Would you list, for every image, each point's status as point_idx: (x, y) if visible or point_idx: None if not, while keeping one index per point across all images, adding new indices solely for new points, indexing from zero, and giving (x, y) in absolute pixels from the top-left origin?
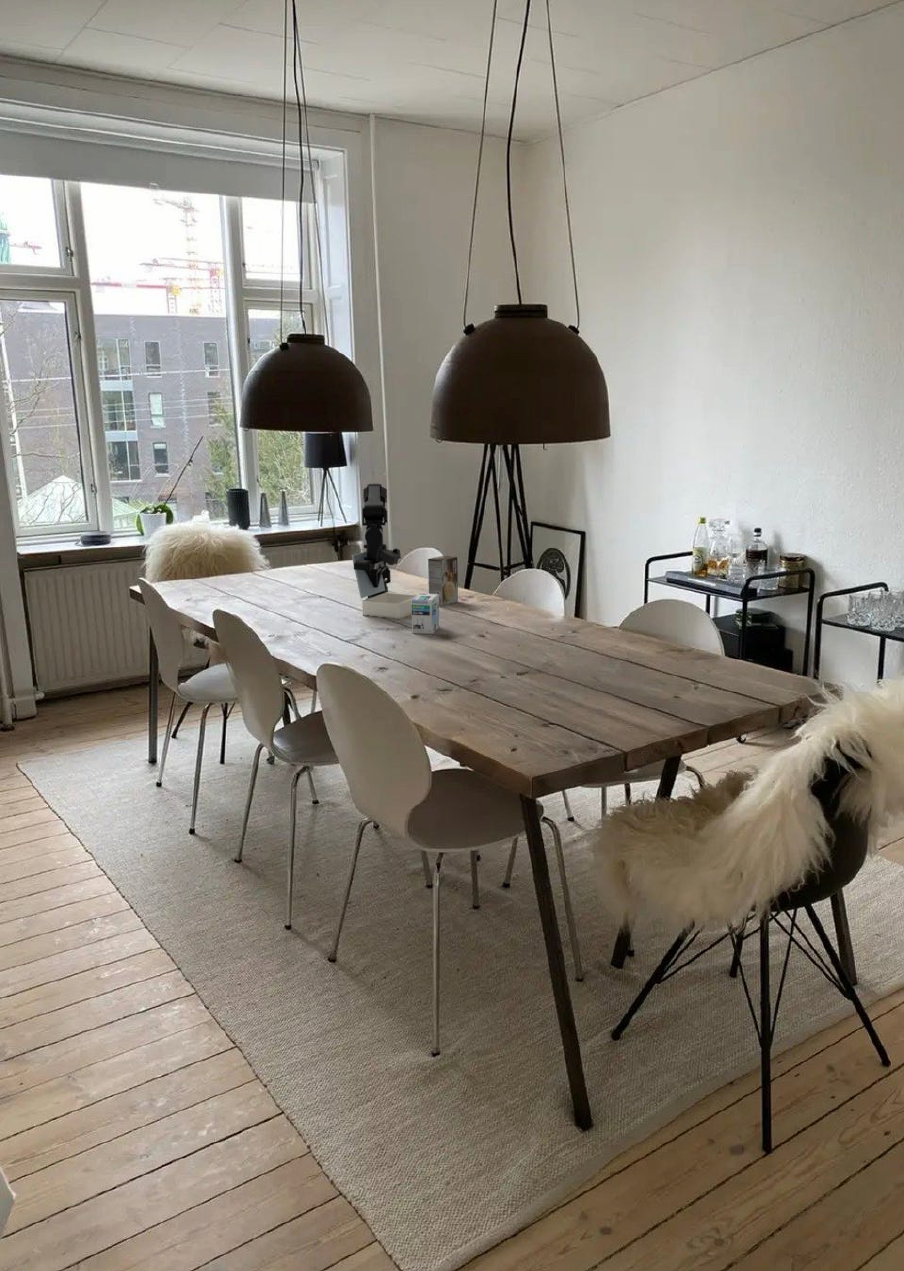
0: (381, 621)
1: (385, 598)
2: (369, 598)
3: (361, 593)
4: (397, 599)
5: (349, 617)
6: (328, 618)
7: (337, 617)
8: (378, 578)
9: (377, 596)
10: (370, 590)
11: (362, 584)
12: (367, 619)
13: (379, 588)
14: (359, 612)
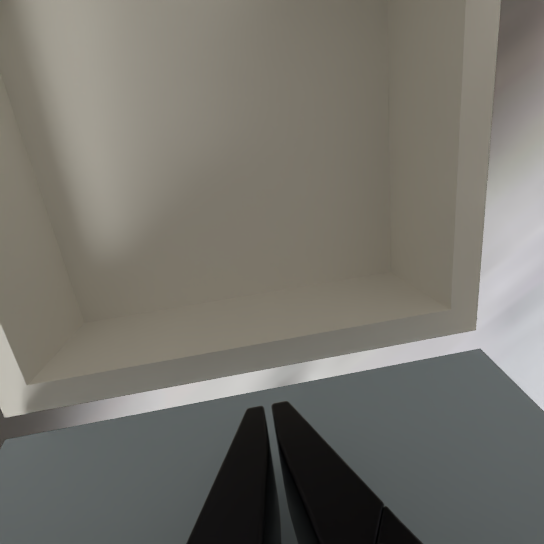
0: (518, 38)
1: (94, 349)
2: (359, 346)
3: (513, 386)
4: (18, 248)
5: (479, 314)
6: (538, 385)
7: (501, 366)
8: (267, 531)
9: (240, 349)
10: (321, 425)
11: (539, 499)
12: (492, 179)
13: (111, 456)
14: (335, 358)
